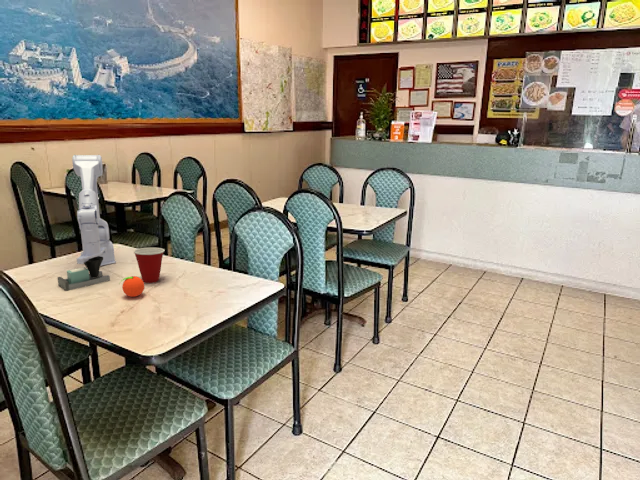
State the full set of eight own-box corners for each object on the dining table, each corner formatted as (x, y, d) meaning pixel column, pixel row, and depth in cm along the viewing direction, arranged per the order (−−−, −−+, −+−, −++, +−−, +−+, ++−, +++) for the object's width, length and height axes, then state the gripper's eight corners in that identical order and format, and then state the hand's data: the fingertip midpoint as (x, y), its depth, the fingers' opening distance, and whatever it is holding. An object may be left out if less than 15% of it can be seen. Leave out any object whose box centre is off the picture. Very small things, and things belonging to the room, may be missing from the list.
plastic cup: (171, 276, 173) (169, 246, 169) (158, 286, 162) (156, 254, 159) (144, 274, 173) (141, 244, 170) (130, 284, 163) (127, 252, 160)
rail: (101, 275, 171) (100, 268, 170) (110, 280, 166) (109, 272, 165) (58, 285, 160) (57, 277, 159) (66, 290, 155) (65, 282, 155)
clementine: (119, 301, 148) (117, 281, 146) (119, 293, 154) (118, 274, 152) (145, 298, 151) (143, 278, 149) (144, 291, 157) (143, 272, 155)
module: (86, 280, 166) (84, 266, 164) (90, 282, 163) (88, 269, 162) (68, 284, 162) (66, 270, 160) (72, 286, 159) (70, 272, 158)
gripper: (93, 235, 169) (96, 269, 173) (67, 245, 155) (71, 282, 159) (110, 236, 168) (113, 271, 172) (85, 247, 155) (90, 284, 158)
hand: (94, 276), depth 165 cm, fingers closed
